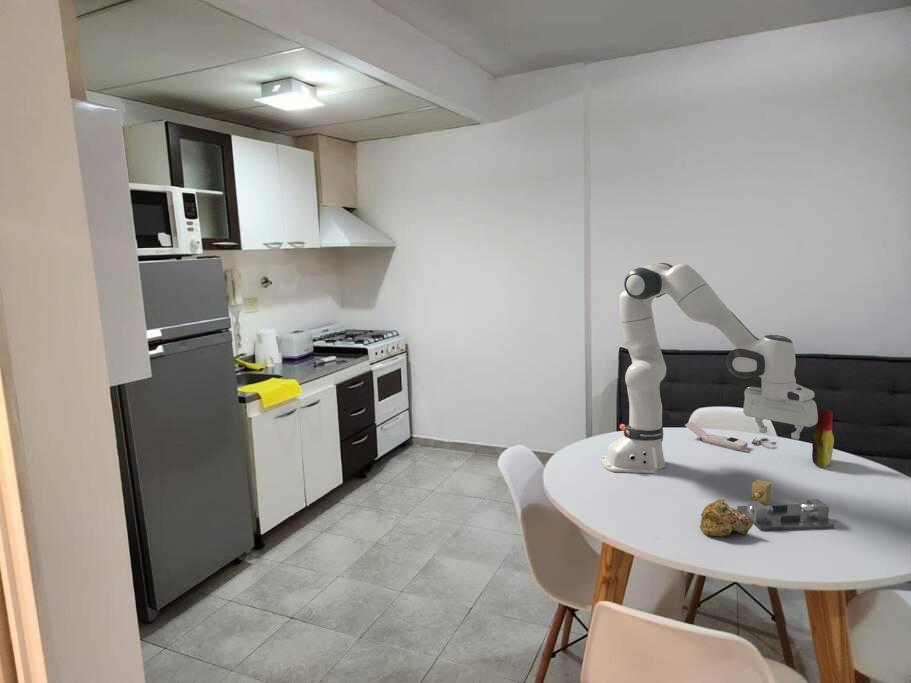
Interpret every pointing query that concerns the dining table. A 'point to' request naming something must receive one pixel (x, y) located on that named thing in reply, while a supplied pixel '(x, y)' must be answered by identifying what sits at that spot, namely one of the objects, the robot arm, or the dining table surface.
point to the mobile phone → (718, 439)
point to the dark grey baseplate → (788, 515)
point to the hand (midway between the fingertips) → (778, 435)
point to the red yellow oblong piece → (823, 439)
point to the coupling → (761, 491)
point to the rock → (723, 520)
